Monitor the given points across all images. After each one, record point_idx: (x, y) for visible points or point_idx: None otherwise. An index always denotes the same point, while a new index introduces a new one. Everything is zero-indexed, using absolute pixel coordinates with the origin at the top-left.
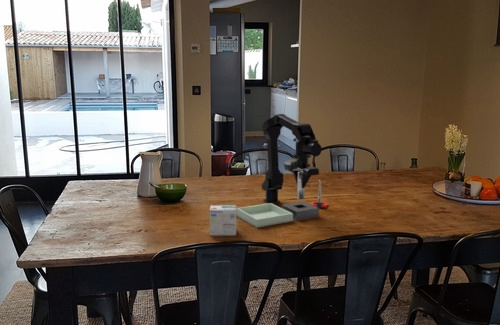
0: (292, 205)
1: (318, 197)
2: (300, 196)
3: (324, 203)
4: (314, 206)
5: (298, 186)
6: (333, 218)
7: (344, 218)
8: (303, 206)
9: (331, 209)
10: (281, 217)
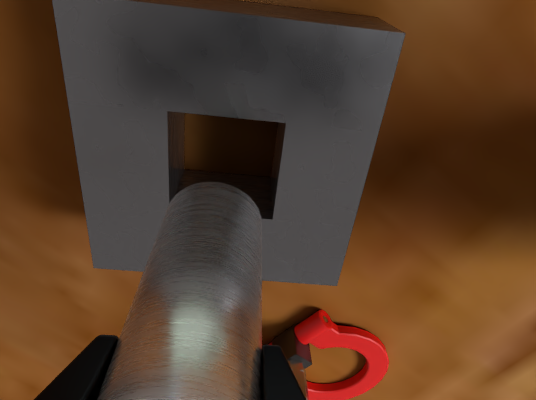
0: (298, 125)
1: None
2: (166, 215)
3: (315, 390)
4: None
5: (168, 321)
6: (42, 270)
7: (19, 316)
8: None
9: None
10: None
